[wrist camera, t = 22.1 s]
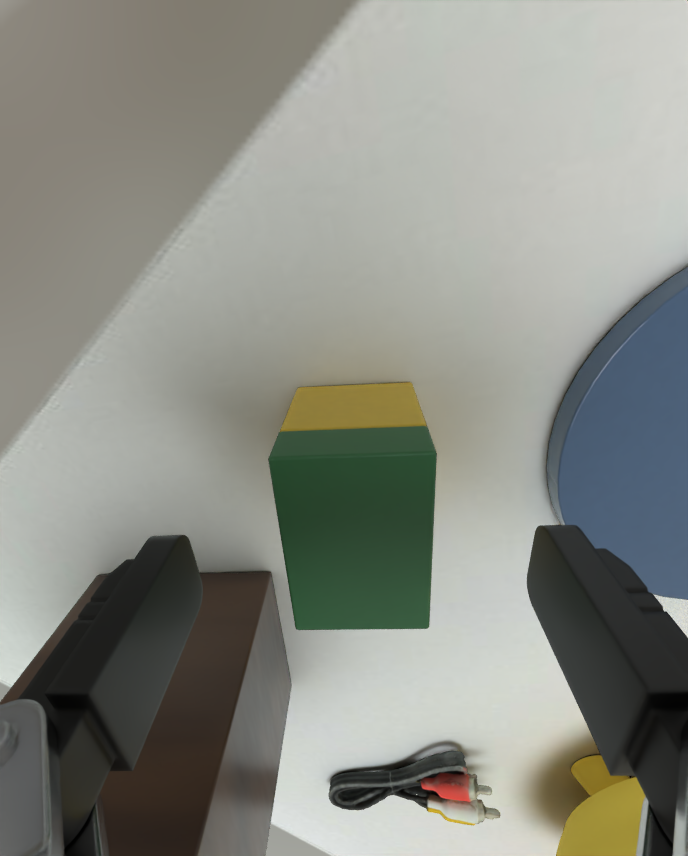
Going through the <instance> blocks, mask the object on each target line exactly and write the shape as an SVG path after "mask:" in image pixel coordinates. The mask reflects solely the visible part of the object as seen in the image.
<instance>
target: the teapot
mask: <svg viewBox="0 0 688 856" xmlns="http://www.w3.org/2000/svg"><path fill="white" fill-rule="evenodd" d="M571 773H572V774H573V776H574V777H575V778H576V779H577V780H578V782H579V783H580V784H581V785H582V786H583V788H584V789H585V790H586V791H587V793H588V794H589V795H590V796H591V797H589V798H587V799H586V800H585V801H583V802H582V803H581V804H580V805H578V806H577V807H576V809H575V810H574V811H573V812H572V813H571V814H570V816H569V817H568V819H567V821H566V824H565V826H564V830H563V833H562V836H561V839H560V842H559V846H558V849H557V853H556V856H636V850H637V842H638V834H639V826H640V818H641V810H642V804H643V800H644V798H645V794H644V792H643V790H642V788H641V786H640V784H639V782H638V780H637V778H636V777H633V778H629V776H610V773H609V771H608V769H607V767H606V765H605V763H604V760H603V758H602V756H601V755H595V756H589V757H585V758H582V759H580V760H578V761H577V762H575V763H574V764H573V766H572V767H571Z"/></svg>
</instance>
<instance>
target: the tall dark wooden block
mask: <svg viewBox="0 0 688 856" xmlns="http://www.w3.org/2000/svg"><path fill="white" fill-rule="evenodd" d="M107 576H108V575H98V576H97V577H96V578H95V579H94V581H93V582H92V583H91V585H90V586H89V587H88V588H87V590H86V591H85V592H84V594H83V595H82V596H81V598H80V599H79V600H78V601H77V603H76V604H75V605H74V607H73V608H72V609H71V611H70V612H69V613H68V614H67V616H66V617H65V618H64V620H63V621H62V622H61V624H60V625H59V626H58V627H57V629H56V630H55V631H54V633H53V634H52V635H51V637H50V638H49V639H48V640H47V642H46V643H45V644H44V646H43V647H42V648H41V650H40V651H39V652H38V654H37V655H36V656H35V657H34V659H33V660H32V661H31V663H30V664H29V665H28V667H27V668H26V669H25V670H24V672H23V673H22V674H21V676H20V677H19V678H18V680H17V681H16V682H15V683H14V685H13V686H12V687H11V689H10V690H9V691H8V693H7V694H6V695H5V697H4V698H3V699H2V700H1V702H0V705H2V704H5V703H8V702H11V701H15V700H17V699H18V698H19V696H20V695H21V694H22V693H23V691H24V690H25V689H26V687H27V686H28V685H29V683H30V682H31V680H32V679H33V678H34V676H35V675H36V673H37V672H38V671H39V669H40V668H41V666H42V665H43V664H44V662H45V661H46V660H47V658H48V657H49V655H50V654H51V653H52V651H53V650H54V648H55V647H56V646H57V644H58V643H59V641H60V640H61V639H62V637H63V636H64V635H65V633H66V632H67V630H68V629H69V628H70V626H71V625H72V623H73V622H74V621H75V620H78V615H79V614H80V612H81V611H82V609H83V608H84V607H85V605H86V604H87V603H88V602H90V601H91V597H92V596H93V594H94V593H95V591H96V590H97V589H98V587H99V586H100V584H101V583H102V582H103V580H104V579H105V578H106V577H107ZM200 577H201V580H202V585H203V596H202V603H201V607H200V610H199V612H198V615H197V617H196V620H195V622H194V624H193V627H192V629H191V632H190V634H189V637H188V639H187V641H186V644H185V646H184V649H183V651H182V653H181V656H180V658H179V661H178V663H177V666H176V668H175V670H174V673H173V675H172V678H171V680H170V682H169V685H168V687H167V690H166V692H165V695H164V697H163V699H162V702H161V704H160V707H159V709H158V712H157V714H156V716H155V719H154V721H153V724H152V726H151V728H150V731H149V733H148V736H147V738H146V741H145V743H144V745H143V748H142V750H141V753H140V755H139V757H138V760H137V762H136V765H135V767H134V770H133V771H109V773H108V776H107V778H106V780H105V782H104V784H103V787H102V789H101V791H100V794H101V797H102V801H103V808H104V816H105V824H106V831H107V839H108V846H109V854H110V856H265V855H266V849H267V842H268V836H269V829H270V823H271V816H272V810H273V803H274V796H275V790H276V783H277V777H278V770H279V764H280V757H281V750H282V744H283V737H284V731H285V724H286V718H287V711H288V704H289V698H290V691H291V680H290V675H289V669H288V664H287V658H286V653H285V647H284V642H283V636H282V631H281V625H280V620H279V614H278V608H277V603H276V597H275V592H274V586H273V581H272V575H271V573H270V572H249V573H200Z"/></svg>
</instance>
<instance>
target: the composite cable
mask: <svg viewBox="0 0 688 856" xmlns="http://www.w3.org/2000/svg"><path fill="white" fill-rule="evenodd" d="M467 772H468V771H467V767H466V762H465V760H464V754H463V753H462V752H459V751H448V752H444V753H442V754H436V755H432V756H430V757H427V758H425V759H422V760H420V761H418V762H416V763H413V764H411V765H409V766H406V767H403V768H400V769H395V770H389V771H379V772H378V771H376V772H348V773H342V774H339V775H337V776H335V777H334V778H333V779H332V780H331V782H330V785H331V786H330V792H329V799H330V801H331V803H332V804H333V805H335V806H338V807H340V808H342V809H348V810H364V809H365V808H369V807H371V806H372V805H375V804H376V803H378V802H379V801H381V800H383V799H385V798H386V797H387V796H390V795H396V796H399V797H402V798H405V799H408V800H413V801H415V802H416V803H418V804H419V805H420V806H422V807H424V808H426V809H427V811H428V812H433V813H439V814H441V815H442V816H443V818H444V819H445V820H447V821H450V822H455V823H461V824H467V825H475V824H479V823H480V822H483V821H484V819H485V818H487V819H492V820H493V819H494V818H500V812H499V811H498V810H497V809H493V808H487V807H485V806H484V804H483V802H482V800H478V799H477V796H478V795H479V794H485V795H491V794H492V789H491V788H490V787H489V786H483V785H478V784H477V775H476V774H473V775H471V774H467ZM416 794H417V795H416Z"/></svg>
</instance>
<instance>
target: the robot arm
mask: <svg viewBox="0 0 688 856" xmlns="http://www.w3.org/2000/svg"><path fill="white" fill-rule="evenodd" d="M527 588H528V594H529V598H530V601H531V604H532V606H533V608H534V610H535V613H536V615H537V617H538V619H539V621H540V624H541V626H542V628H543V630H544V632H545V634H546V637H547V639H548V641H549V643H550V645H551V647H552V650H553V652H554V654H555V656H556V658H557V660H558V663H559V665H560V667H561V669H562V671H563V673H564V676H565V678H566V680H567V682H568V684H569V687H570V689H571V691H572V693H573V695H574V697H575V700H576V702H577V704H578V706H579V708H580V710H581V713H582V715H583V717H584V719H585V721H586V723H587V726H588V728H589V730H590V732H591V734H592V736H593V739H594V741H595V743H596V745H597V747H598V750H599V752H600V754H601V756H602V758H603V760H604V763H605V765H606V767H607V769H608V771H609V773H610V776H636V778H637V780H638V782H639V784H640V786H641V788H642V790H643V792H644V794H645V798H644V800H643V804H642V810H641V818H640V826H639V834H638V842H637V850H636V856H688V638H687V636H686V635H685V634H684V633H683V631H682V630H681V629H680V628H679V626H678V625H677V624H676V623H675V621H674V620H673V619H672V618H671V616H670V615H669V614H668V613H667V612H664V611H663V606H662V605H661V604H660V603H659V601H658V600H657V599H656V598H655V596H654V595H653V594H652V593H649V592H648V588H647V586H646V585H645V584H644V583H643V581H642V580H641V579H640V578H639V577H638V575H637V574H636V573H635V572H634V570H633V569H632V568H631V567H630V566H629V565H628V564H626V563H625V562H624V561H622V560H621V559H620V558H618V557H617V556H615V555H614V554H613V553H611V552H610V551H609V550H607V549H606V548H598V549H595V548H594V546H593V545H592V543H591V542H590V541H589V539H588V538H587V537H586V535H585V534H584V533H583V531H582V530H581V529H580V528H579V527H578V526H576V525H546V526H538V527H537V529H536V531H535V536H534V541H533V546H532V552H531V557H530V563H529V568H528V573H527ZM202 596H203V585H202V580H201V577H200V573H199V570H198V567H197V563H196V560H195V557H194V554H193V550H192V547H191V544H190V541H189V539H188V537H187V536H185V535H171V536H152V537H150V538H149V539H148V540H147V541H146V543H145V544H144V546H143V547H142V549H141V550H140V552H139V553H138V554H137V556H136V557H135V559H133V560H126V561H125V562H124V563H122V564H121V565H120V566H119V567H118V568H116V569H115V570H114V571H113V572H111V573H110V574H109V575H108V576H107V577H106V578H105V579H104V580H103V582H102V583H101V584H100V586H99V587H98V589H97V590H96V591H95V593H94V594H93V596H92V597H91V601H90V602H88V603H87V604H86V605H85V607H84V608H83V609H82V611H81V612H80V614H79V615H78V620H75V621H74V622H73V623H72V625H71V626H70V628H69V629H68V630H67V632H66V633H65V635H64V636H63V637H62V639H61V640H60V641H59V643H58V644H57V646H56V647H55V648H54V650H53V651H52V653H51V654H50V655H49V657H48V658H47V660H46V661H45V662H44V664H43V665H42V666H41V668H40V669H39V671H38V672H37V673H36V675H35V676H34V678H33V679H32V680H31V682H30V683H29V685H28V686H27V687H26V689H25V690H24V691H23V693H22V694H21V695H20V696H19V698H18V699H17V700H15V701H11V702H8V703H5V704H2V705H0V856H110V854H109V846H108V839H107V831H106V824H105V816H104V808H103V801H102V797H101V794H100V791H101V789H102V787H103V784H104V782H105V780H106V778H107V776H108V773H109V771H133V770H134V767H135V765H136V762H137V760H138V757H139V755H140V753H141V750H142V748H143V745H144V743H145V741H146V738H147V736H148V733H149V731H150V728H151V726H152V724H153V721H154V719H155V716H156V714H157V712H158V709H159V707H160V704H161V702H162V699H163V697H164V695H165V692H166V690H167V687H168V685H169V682H170V680H171V678H172V675H173V673H174V670H175V668H176V666H177V663H178V661H179V658H180V656H181V653H182V651H183V649H184V646H185V644H186V641H187V639H188V637H189V634H190V632H191V629H192V627H193V624H194V622H195V620H196V617H197V615H198V612H199V610H200V607H201V603H202Z"/></svg>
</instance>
